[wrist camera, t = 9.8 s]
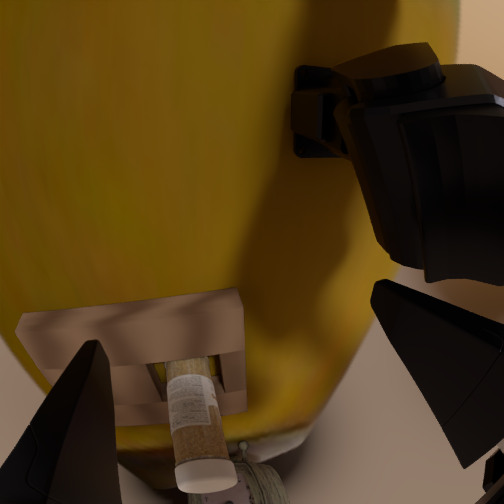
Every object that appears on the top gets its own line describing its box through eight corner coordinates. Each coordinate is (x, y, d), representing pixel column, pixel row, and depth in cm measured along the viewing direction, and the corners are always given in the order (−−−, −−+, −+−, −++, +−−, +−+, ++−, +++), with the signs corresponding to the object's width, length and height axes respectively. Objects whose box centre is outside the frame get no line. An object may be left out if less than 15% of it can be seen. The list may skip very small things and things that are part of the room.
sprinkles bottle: (208, 371, 29) (237, 490, 18) (165, 374, 28) (181, 496, 17) (208, 343, 27) (241, 477, 16) (160, 346, 26) (174, 484, 14)
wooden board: (236, 287, 24) (243, 306, 22) (242, 394, 33) (247, 411, 31) (23, 313, 20) (14, 332, 18) (87, 410, 29) (86, 426, 27)
